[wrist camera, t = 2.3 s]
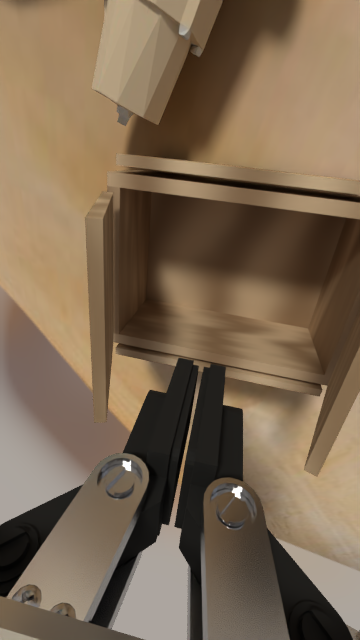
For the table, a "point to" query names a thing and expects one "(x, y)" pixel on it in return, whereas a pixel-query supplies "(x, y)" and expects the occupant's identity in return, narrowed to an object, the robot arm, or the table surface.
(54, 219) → the table surface
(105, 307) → the flap
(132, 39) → the butterfly valve
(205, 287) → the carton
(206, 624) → the robot arm
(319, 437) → the flap
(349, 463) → the table surface
